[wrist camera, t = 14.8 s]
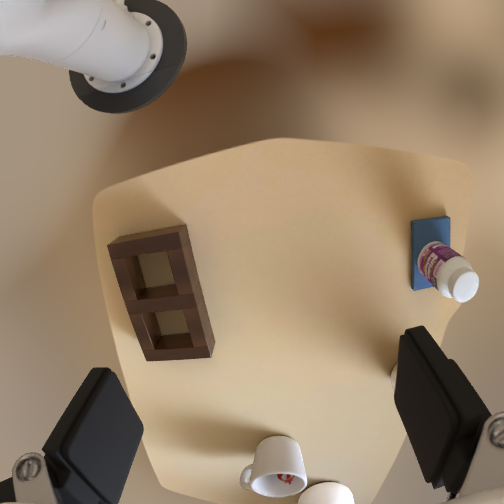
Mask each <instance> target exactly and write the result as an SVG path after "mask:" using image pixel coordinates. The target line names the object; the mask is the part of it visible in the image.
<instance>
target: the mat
mask: <svg viewBox="0 0 504 504" xmlns="http://www.w3.org/2000/svg"><path fill="white" fill-rule="evenodd" d="M411 231H412V285H411V288H412V289H413V290H414V291H415V290H420V289H425V288H430V287H434V286H433V285H432V284H431V283H430V282H429V281H428V280H427V279H426V278H425V277H424V276H423V275H422V274H421V273H420V271H419V269H418V263H417V262H418V257H419V254H420V252H421V250H422V249H423V248H424V246H426V245H427V244H428V243H431V242H434V241H438V242H441V243H443V244H445V245H447V246H448V247H450V217H448V216H443V217H436V218H429V219H422V220H415V221H411Z"/></svg>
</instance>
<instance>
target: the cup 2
mask: <svg viewBox="0 0 504 504" xmlns="http://www.w3.org/2000/svg"><path fill="white" fill-rule="evenodd" d="M297 504H354V500H353V496H352V493H351V491H350V490H349V489H348V487H346V486H344V485H342V484H339V483H335V482H324V483H320V484H316V485H313V486H311V487H309V488H308V489H307V490H305V491H304V492H303V493H302V494H301V496H300V498H299V501H298V503H297Z"/></svg>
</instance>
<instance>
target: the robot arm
mask: <svg viewBox="0 0 504 504" xmlns="http://www.w3.org/2000/svg"><path fill="white" fill-rule="evenodd" d="M124 1H125V0H0V56H16V57H23V58H28V59H32V60H36V61H40V62H44V63H48V64H51V65H55V66H59V67H62V68H65V69H69V70H72V71H75V72H79V73H82V74H84V76H85V79H86V80H87V81H88V83H89V84H90V85H91V86H92V87H94V88H95V89H97V90H99V91H103V92H106V93H121V92H124V91H128V90H130V89H132V88H134V87H136V86H138V85H139V84H141V83H142V82H143V81H144V80H146V79H147V78H148V77H149V76H150V74H151V73H152V72H153V71H154V69H155V68H156V66H157V64H158V62H159V60H160V58H161V55H162V50H163V36H162V32H161V30H160V28H159V26H158V25H157V24H156V22H155V21H154V20H152V19H151V18H150V17H149V16H147V15H145V14H142V13H138V12H129V11H128V9H127V6H125V5H124ZM150 24H151V25H150ZM154 57H155V59H153V58H154ZM93 79H94V80H93ZM125 84H126V86H125V87H124V85H125ZM394 400H395V405H396V407H397V410H398V412H399V415H400V417H401V419H402V422H403V424H404V427H405V429H406V432H407V434H408V437H409V439H410V442H411V444H412V447H413V450H414V452H415V455H416V457H417V460H418V463H419V465H420V468H421V470H422V473H423V476H424V479H425V481H426V482H427V483H430V482H431V483H432V485H433V488H434V489H436V488H439V487H442V486H445V488H446V491H447V492H449V495H448V497H447V499H446V501H445V502H443V503H440V504H504V412H499V413H496V414H494V415H491V413H490V412H489V410H488V409H487V407H486V406H485V404H484V403H483V401H482V400H481V398H480V397H479V395H478V394H477V392H476V391H475V389H474V388H473V386H472V385H471V383H470V382H469V381H468V379H467V378H466V376H465V375H464V373H463V372H462V371H461V369H460V368H459V366H458V365H457V364H456V363H455V361H454V360H452V359H448V358H447V357H446V356H445V354H444V353H443V351H442V350H441V349H440V347H439V346H438V344H437V343H436V342H435V340H434V339H433V338H432V336H431V335H430V334H429V332H428V331H427V330H426V328H425V327H424V326H418V327H414V328H410V329H406V330H405V333H404V335H401V336H400V340H399V353H398V365H397V375H396V384H395V393H394ZM143 431H144V428H143V424H142V422H141V420H140V418H139V416H138V415H137V413H136V411H135V409H134V408H133V406H132V404H131V402H130V400H129V398H128V397H127V395H126V393H125V391H124V389H123V387H122V385H121V383H120V381H119V379H118V378H117V375H116V374H115V373H114V372H112V371H111V369H109V368H93V369H92V370H91V371H90V372H89V374H88V376H87V377H86V379H85V380H84V382H83V383H82V385H81V386H80V388H79V389H78V391H77V392H76V394H75V396H74V397H73V399H72V400H71V402H70V404H69V405H68V407H67V408H66V410H65V412H64V413H63V415H62V416H61V418H60V420H59V421H58V423H57V425H56V426H55V428H54V430H53V431H52V433H51V435H50V436H49V438H48V440H47V441H46V443H45V445H44V446H43V448H42V450H43V452H44V453H45V456H44V457H43V456H41V455H40V454H38V453H33V452H31V453H27V454H25V455H23V456H21V457H20V458H19V459H18V460H17V461H16V462H15V464H14V466H13V469H12V477H11V478H9V479H6V480H4V481H2V482H0V504H118V503H119V500H120V497H121V494H122V491H123V488H124V485H125V483H126V480H127V477H128V474H129V471H130V468H131V465H132V462H133V460H134V457H135V454H136V451H137V448H138V446H139V443H140V440H141V437H142V435H143Z"/></svg>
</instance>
